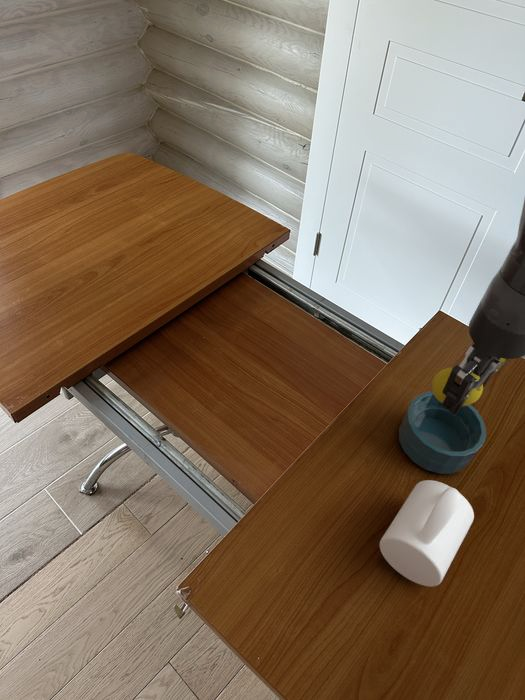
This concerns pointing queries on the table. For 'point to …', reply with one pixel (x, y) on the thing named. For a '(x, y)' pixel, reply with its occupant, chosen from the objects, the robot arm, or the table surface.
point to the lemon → (441, 381)
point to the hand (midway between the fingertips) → (462, 397)
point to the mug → (427, 532)
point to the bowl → (441, 435)
